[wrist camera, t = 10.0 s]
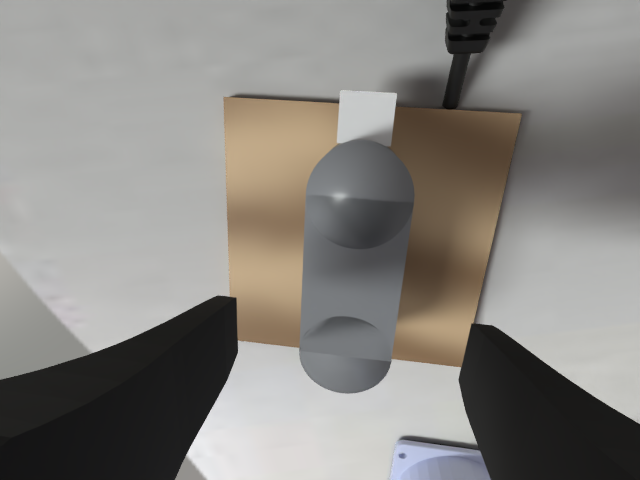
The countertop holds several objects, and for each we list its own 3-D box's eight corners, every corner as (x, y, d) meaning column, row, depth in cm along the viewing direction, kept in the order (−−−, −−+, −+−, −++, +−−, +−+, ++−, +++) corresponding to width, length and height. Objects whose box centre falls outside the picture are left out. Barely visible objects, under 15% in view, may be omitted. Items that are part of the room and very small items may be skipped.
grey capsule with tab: (380, 334, 20) (385, 398, 16) (312, 326, 21) (297, 387, 16) (410, 98, 16) (430, 89, 12) (325, 93, 17) (309, 84, 12)
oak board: (460, 360, 21) (462, 367, 21) (234, 333, 22) (231, 339, 22) (516, 113, 16) (522, 113, 16) (228, 97, 18) (223, 96, 17)
